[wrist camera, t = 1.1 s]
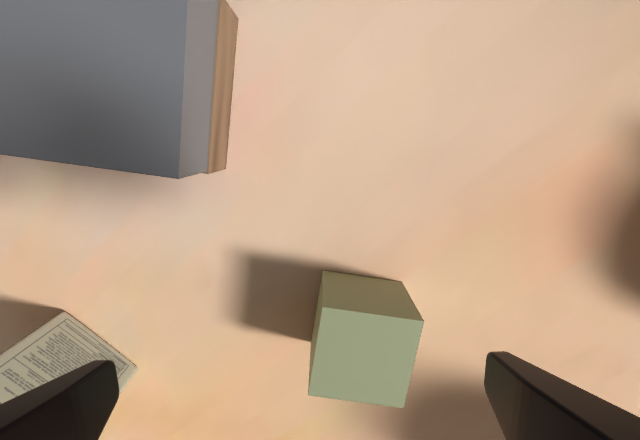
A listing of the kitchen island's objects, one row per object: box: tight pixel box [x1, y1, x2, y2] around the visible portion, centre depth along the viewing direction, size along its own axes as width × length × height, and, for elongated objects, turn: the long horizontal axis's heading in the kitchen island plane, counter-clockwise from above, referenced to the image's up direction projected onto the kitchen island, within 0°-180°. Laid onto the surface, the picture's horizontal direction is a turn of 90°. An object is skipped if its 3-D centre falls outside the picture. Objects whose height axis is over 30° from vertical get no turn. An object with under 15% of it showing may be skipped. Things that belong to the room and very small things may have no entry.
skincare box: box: [0, 312, 137, 404], centre depth 17 cm, size 6×4×12 cm
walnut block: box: [203, 0, 238, 174], centre depth 18 cm, size 8×8×4 cm
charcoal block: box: [0, 0, 218, 179], centre depth 15 cm, size 8×8×4 cm
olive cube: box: [308, 271, 424, 408], centre depth 20 cm, size 5×5×5 cm
